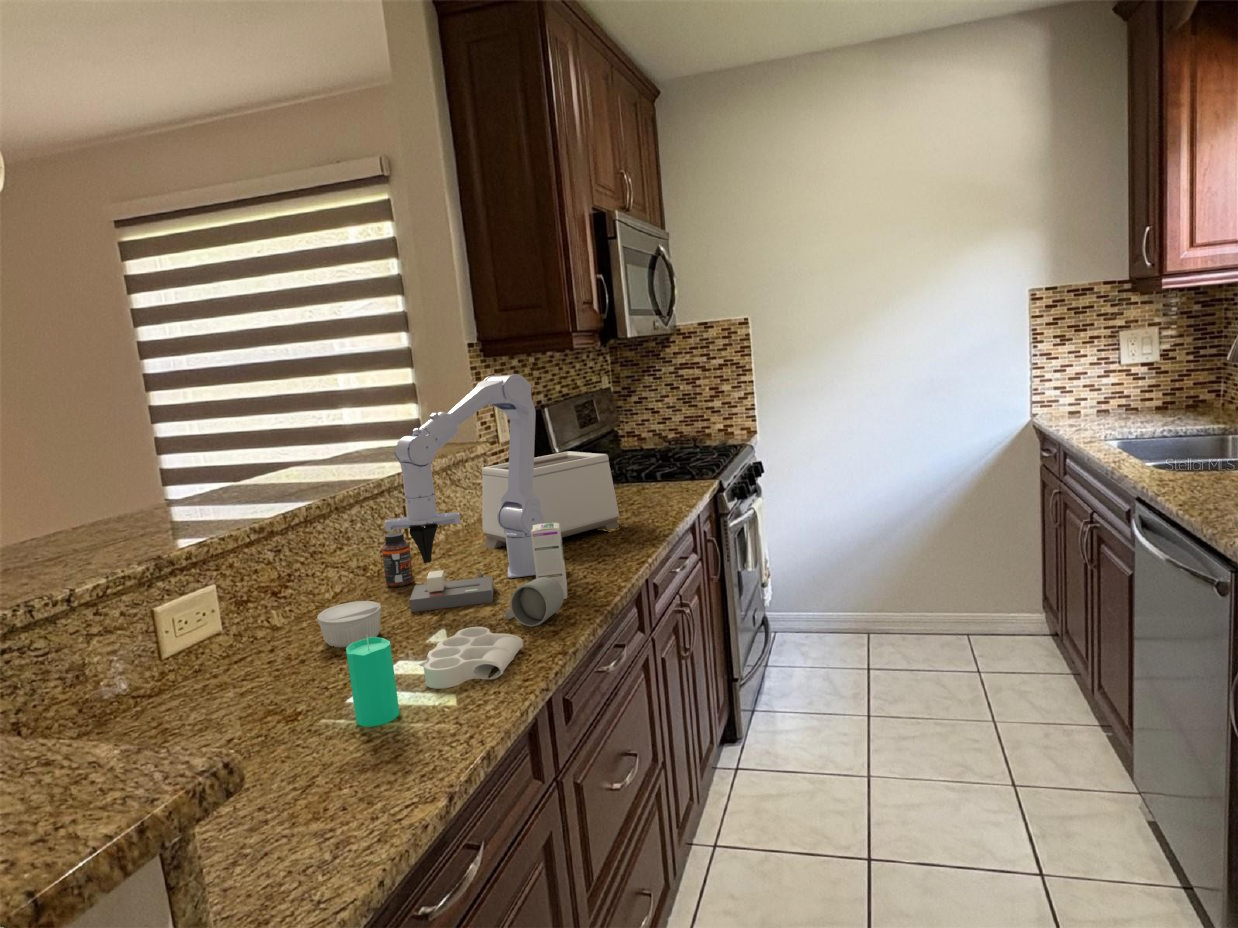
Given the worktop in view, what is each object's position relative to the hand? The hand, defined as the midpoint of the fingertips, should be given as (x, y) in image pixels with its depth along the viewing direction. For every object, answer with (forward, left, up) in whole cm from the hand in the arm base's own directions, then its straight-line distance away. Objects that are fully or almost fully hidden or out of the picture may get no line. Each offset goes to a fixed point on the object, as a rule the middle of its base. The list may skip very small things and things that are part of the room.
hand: (427, 561), depth 160 cm
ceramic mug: (-20, +18, -9) cm, 28 cm away
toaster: (-28, -45, -9) cm, 54 cm away
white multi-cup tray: (-9, +36, -9) cm, 38 cm away
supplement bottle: (+9, -17, -9) cm, 21 cm away
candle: (+3, +51, -9) cm, 52 cm away
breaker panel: (-4, -5, -8) cm, 11 cm away
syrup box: (-24, +6, -9) cm, 26 cm away
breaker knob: (-1, 0, -6) cm, 6 cm away
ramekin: (+13, +16, -9) cm, 22 cm away
